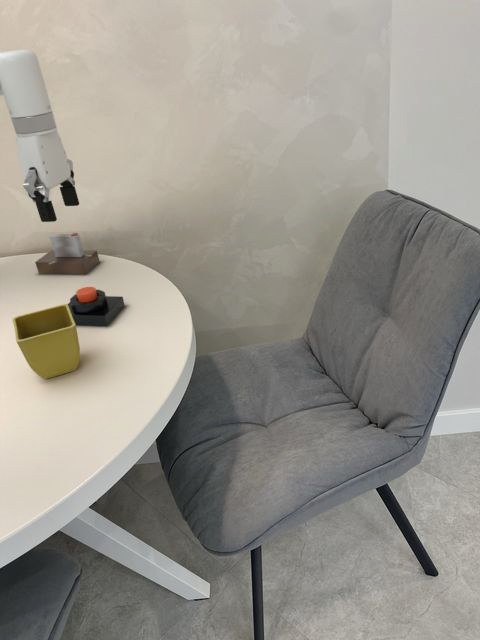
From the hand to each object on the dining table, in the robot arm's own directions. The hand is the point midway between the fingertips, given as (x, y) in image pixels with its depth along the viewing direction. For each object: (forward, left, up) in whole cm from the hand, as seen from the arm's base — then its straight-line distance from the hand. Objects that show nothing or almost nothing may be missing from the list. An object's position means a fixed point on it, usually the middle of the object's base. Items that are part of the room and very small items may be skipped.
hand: (61, 213), depth 112 cm
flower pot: (+14, -33, -16) cm, 39 cm away
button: (+11, -15, -12) cm, 22 cm away
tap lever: (-6, +7, -12) cm, 15 cm away
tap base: (-7, +7, -15) cm, 18 cm away
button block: (+10, -15, -15) cm, 24 cm away
